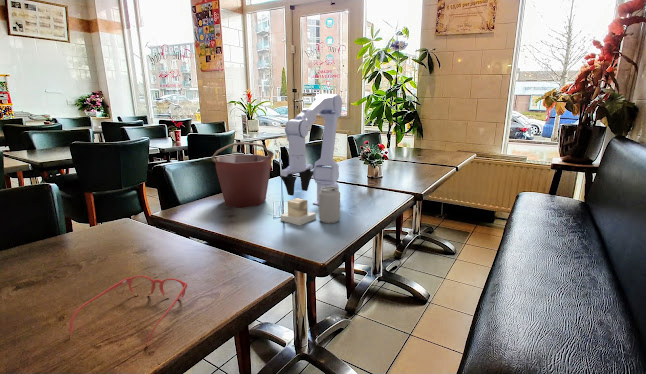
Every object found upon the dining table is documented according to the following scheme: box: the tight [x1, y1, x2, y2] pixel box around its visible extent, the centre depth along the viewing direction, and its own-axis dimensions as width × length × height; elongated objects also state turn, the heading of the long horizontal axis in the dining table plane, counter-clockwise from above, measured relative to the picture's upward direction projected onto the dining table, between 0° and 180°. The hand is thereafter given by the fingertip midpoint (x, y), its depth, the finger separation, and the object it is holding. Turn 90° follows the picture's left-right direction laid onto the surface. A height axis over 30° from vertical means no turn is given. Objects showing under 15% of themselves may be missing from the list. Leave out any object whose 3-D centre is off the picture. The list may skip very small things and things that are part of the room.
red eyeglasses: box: [68, 275, 188, 345], centre depth 68 cm, size 17×16×5 cm
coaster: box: [280, 211, 317, 226], centre depth 125 cm, size 9×9×2 cm
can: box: [318, 187, 341, 224], centre depth 123 cm, size 8×8×12 cm
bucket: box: [211, 142, 275, 209], centre depth 143 cm, size 24×22×25 cm
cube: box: [287, 197, 309, 217], centre depth 124 cm, size 5×5×5 cm
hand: (297, 192), depth 123 cm, fingers open, 7 cm apart
